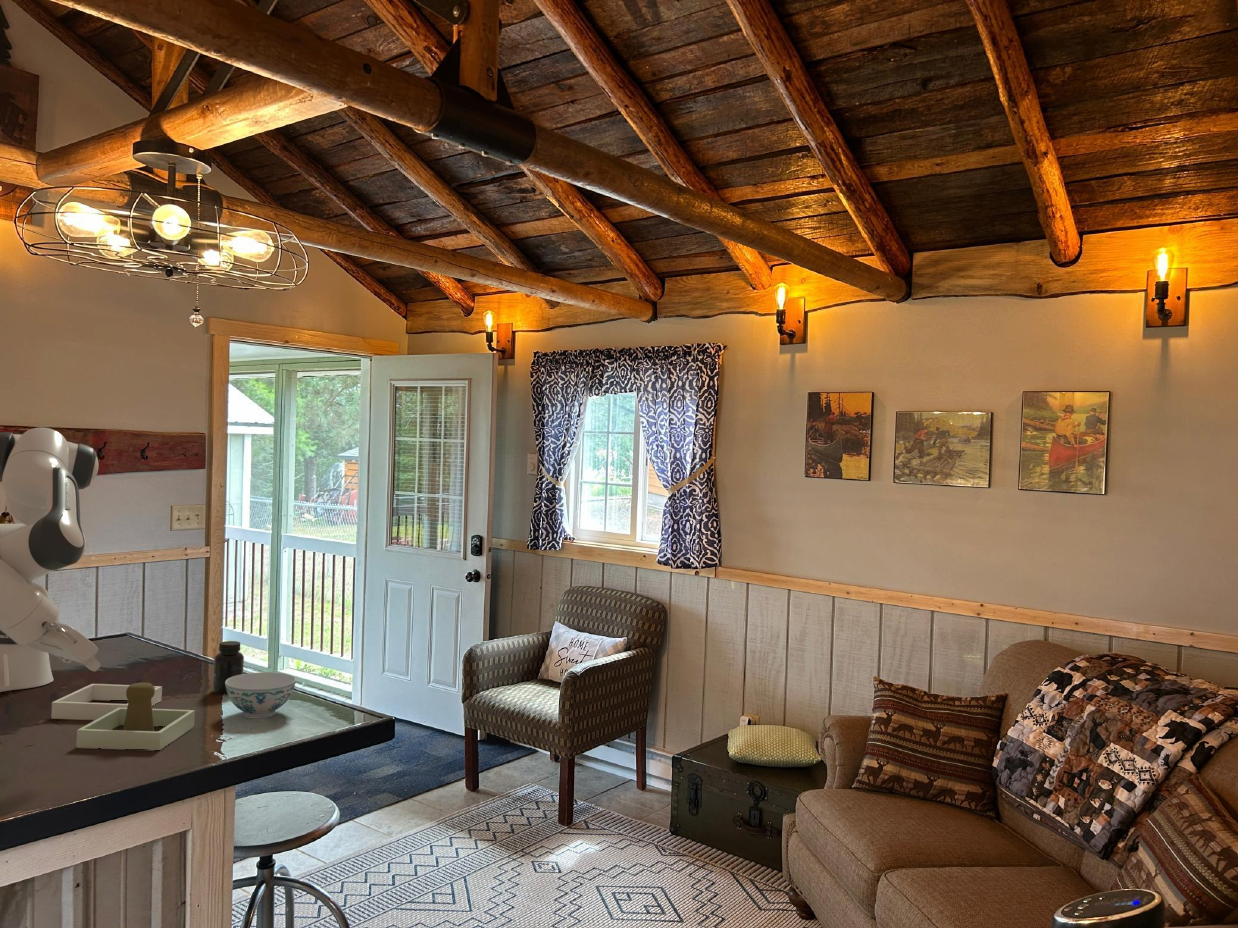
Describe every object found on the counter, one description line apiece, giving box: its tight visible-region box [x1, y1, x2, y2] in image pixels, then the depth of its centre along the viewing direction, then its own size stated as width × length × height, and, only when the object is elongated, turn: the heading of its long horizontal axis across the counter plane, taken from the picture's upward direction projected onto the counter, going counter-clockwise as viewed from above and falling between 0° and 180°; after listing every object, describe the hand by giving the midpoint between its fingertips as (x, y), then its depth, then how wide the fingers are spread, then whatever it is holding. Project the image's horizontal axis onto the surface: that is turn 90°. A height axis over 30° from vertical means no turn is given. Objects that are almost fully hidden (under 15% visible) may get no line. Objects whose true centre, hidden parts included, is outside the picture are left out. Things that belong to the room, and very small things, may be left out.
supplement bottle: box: [212, 640, 245, 695], centre depth 223 cm, size 7×7×12 cm
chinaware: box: [225, 671, 297, 719], centre depth 205 cm, size 15×15×8 cm
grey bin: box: [51, 683, 163, 721], centre depth 203 cm, size 16×16×4 cm
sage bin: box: [75, 708, 196, 751], centre depth 186 cm, size 16×16×4 cm
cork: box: [122, 682, 155, 731], centre depth 185 cm, size 6×6×11 cm
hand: (83, 663), depth 176 cm, fingers open, 8 cm apart
